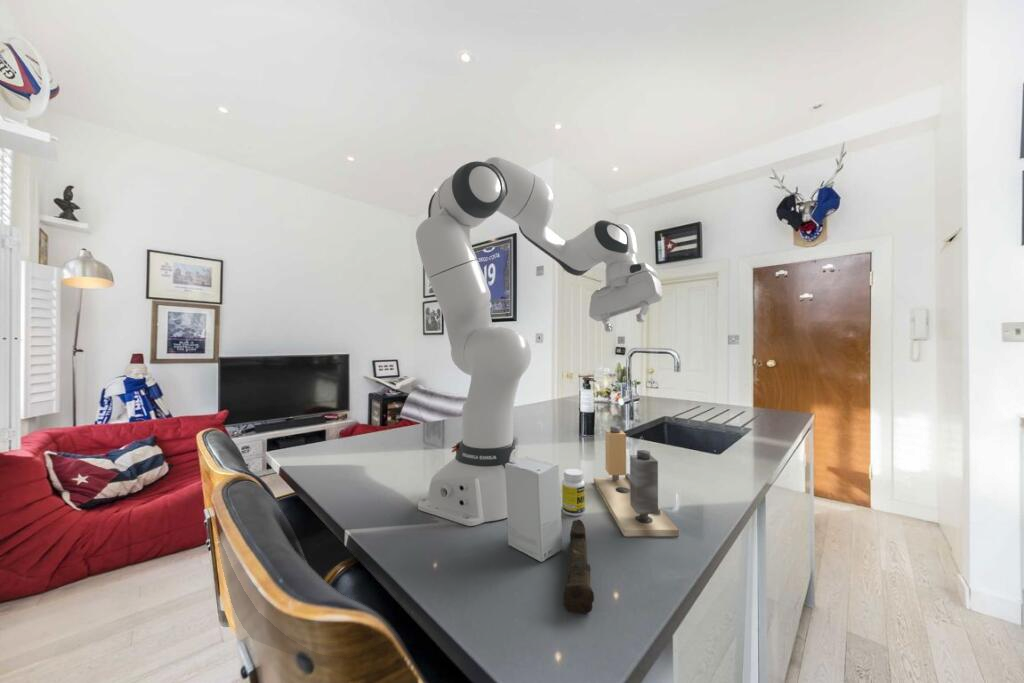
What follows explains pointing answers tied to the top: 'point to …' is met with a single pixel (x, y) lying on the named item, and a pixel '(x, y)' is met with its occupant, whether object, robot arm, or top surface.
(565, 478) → the supplement bottle
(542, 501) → the skincare box
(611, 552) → the top surface
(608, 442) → the block
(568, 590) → the hand tool
